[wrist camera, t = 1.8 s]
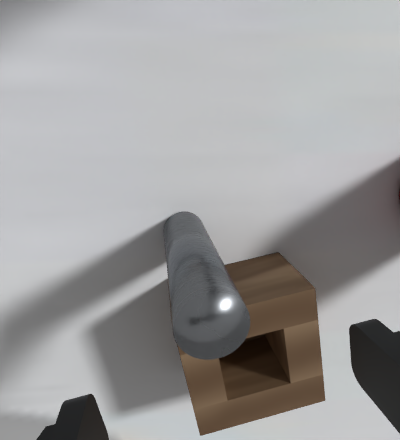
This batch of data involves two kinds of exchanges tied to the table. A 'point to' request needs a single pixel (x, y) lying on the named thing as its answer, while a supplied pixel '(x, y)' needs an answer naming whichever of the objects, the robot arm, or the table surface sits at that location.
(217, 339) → the pin
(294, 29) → the table surface
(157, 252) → the table surface
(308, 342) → the socket block
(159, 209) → the table surface
